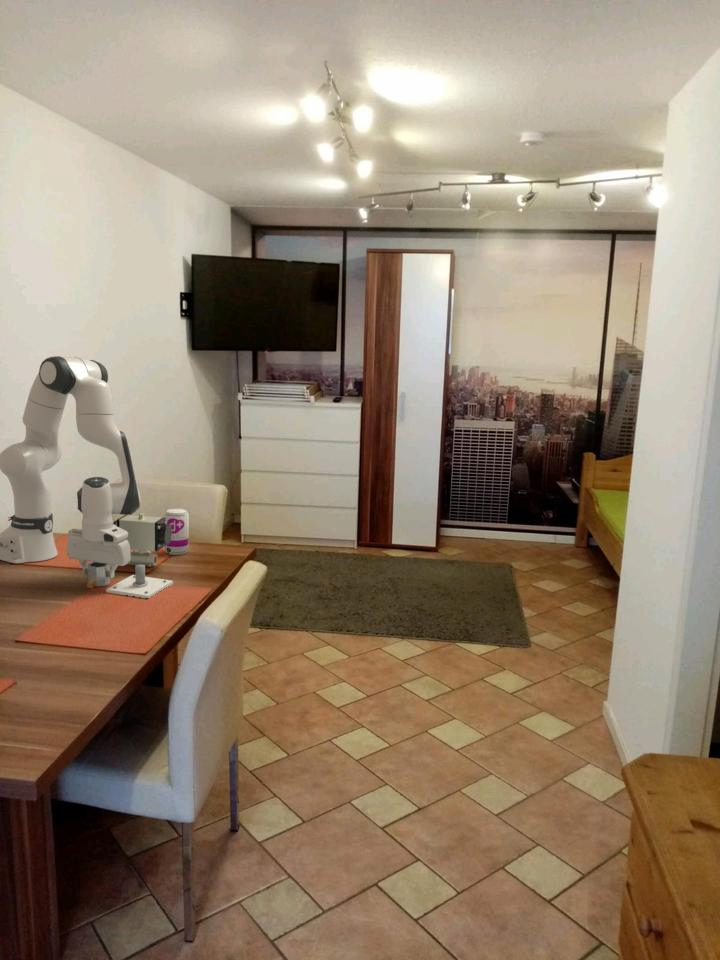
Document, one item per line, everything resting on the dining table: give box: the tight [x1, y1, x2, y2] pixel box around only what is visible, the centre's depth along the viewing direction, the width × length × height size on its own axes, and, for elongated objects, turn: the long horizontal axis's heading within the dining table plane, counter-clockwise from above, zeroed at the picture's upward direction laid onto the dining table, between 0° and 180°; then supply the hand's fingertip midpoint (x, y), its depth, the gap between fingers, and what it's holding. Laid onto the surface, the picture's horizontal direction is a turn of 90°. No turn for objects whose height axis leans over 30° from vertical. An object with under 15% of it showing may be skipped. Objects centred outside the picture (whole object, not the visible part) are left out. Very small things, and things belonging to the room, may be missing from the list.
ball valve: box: [113, 512, 172, 568], centre depth 239 cm, size 18×8×18 cm, turn 84°
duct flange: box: [105, 564, 174, 599], centre depth 219 cm, size 14×14×7 cm
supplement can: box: [164, 507, 190, 556], centre depth 254 cm, size 8×8×15 cm
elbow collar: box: [86, 561, 111, 589], centre depth 221 cm, size 8×6×6 cm
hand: (98, 575), depth 222 cm, fingers open, 7 cm apart
